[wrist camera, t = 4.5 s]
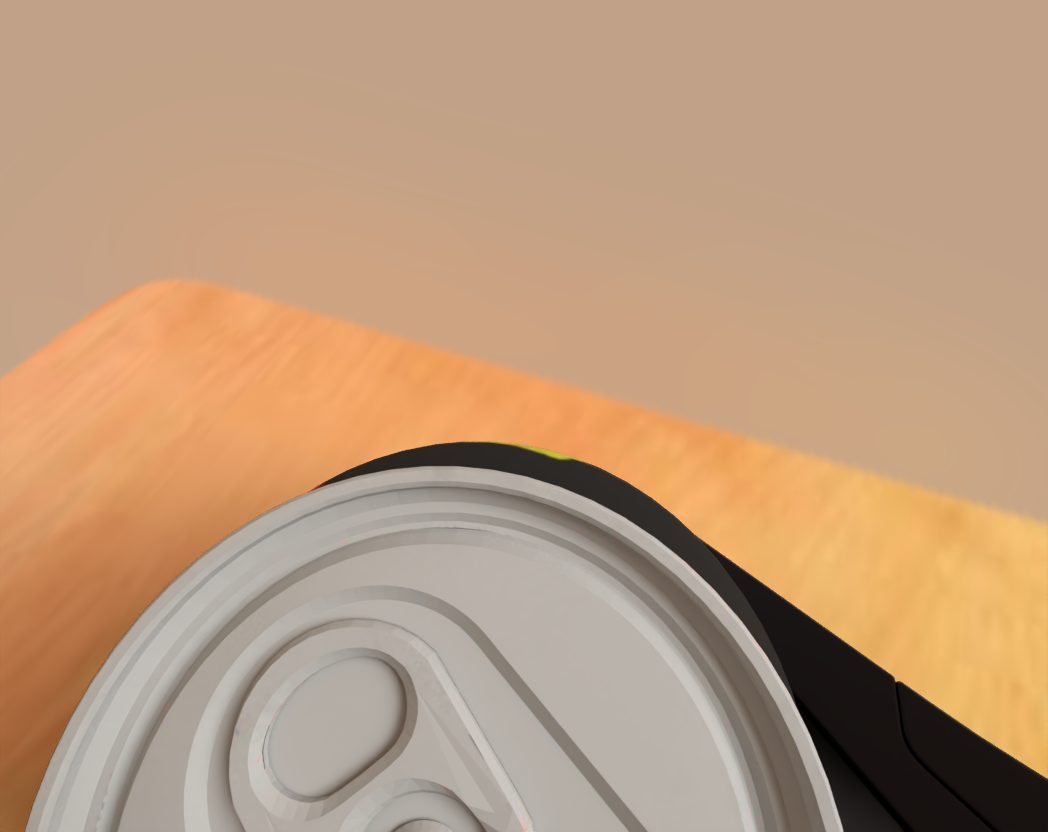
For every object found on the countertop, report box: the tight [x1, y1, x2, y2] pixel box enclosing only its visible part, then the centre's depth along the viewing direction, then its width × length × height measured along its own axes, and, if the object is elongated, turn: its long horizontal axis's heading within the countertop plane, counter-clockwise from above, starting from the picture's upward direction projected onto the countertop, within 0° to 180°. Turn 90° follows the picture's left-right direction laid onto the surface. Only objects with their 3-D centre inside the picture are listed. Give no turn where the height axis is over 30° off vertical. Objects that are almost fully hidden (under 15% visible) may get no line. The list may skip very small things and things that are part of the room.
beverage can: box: [24, 442, 843, 832], centre depth 9 cm, size 6×6×12 cm
